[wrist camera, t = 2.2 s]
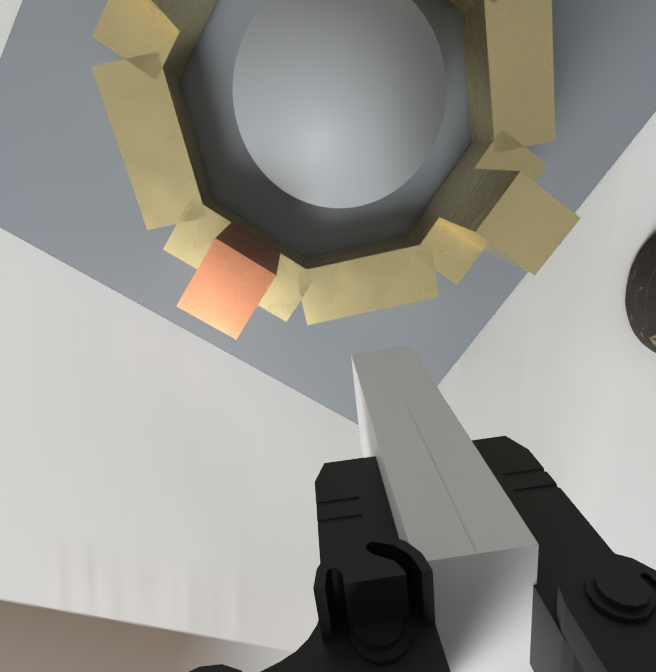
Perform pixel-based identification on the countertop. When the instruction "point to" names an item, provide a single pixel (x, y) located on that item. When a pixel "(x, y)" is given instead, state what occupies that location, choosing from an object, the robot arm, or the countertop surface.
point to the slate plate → (303, 357)
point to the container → (643, 296)
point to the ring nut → (358, 262)
